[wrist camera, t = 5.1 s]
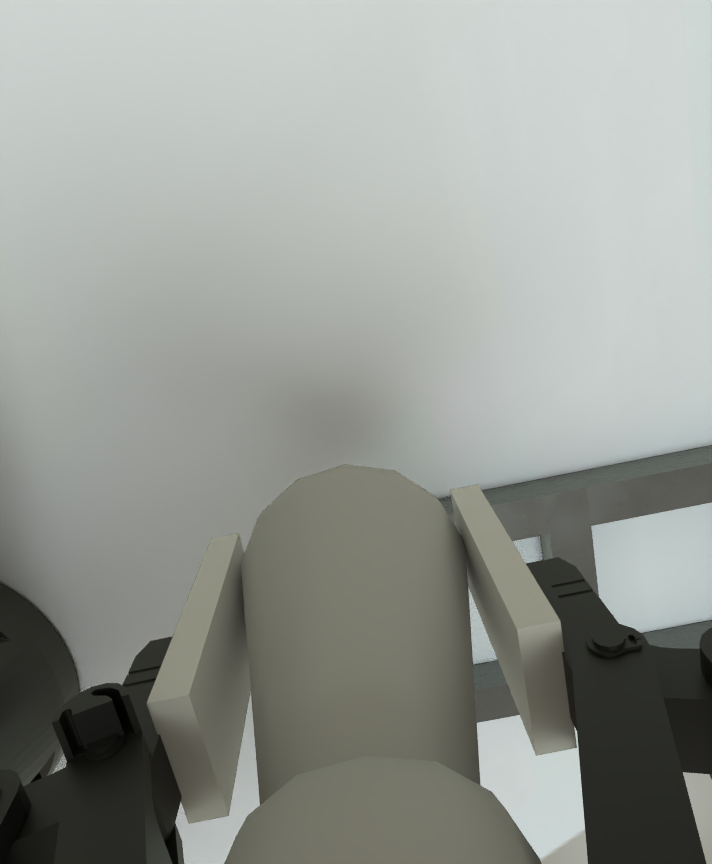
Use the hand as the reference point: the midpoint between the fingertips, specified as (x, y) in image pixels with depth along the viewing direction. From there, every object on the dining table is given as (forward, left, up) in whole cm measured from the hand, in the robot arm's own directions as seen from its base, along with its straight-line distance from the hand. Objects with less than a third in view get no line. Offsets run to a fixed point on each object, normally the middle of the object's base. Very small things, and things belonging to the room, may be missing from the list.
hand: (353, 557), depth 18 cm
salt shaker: (0, 0, -2) cm, 2 cm away
